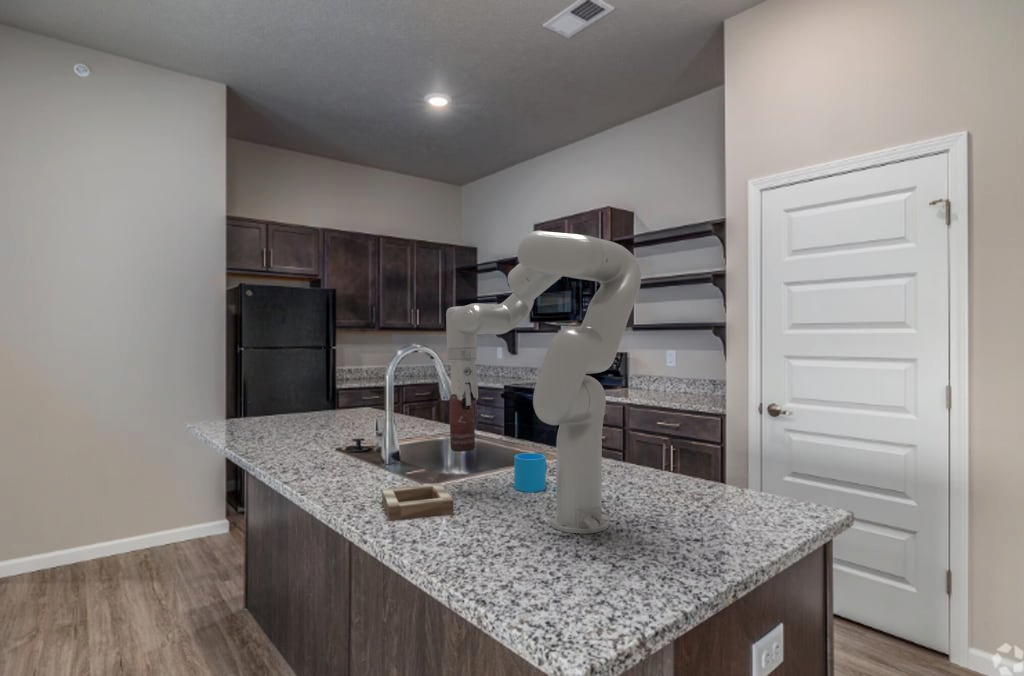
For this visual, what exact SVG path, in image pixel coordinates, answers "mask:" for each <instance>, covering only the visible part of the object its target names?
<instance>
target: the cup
mask: <svg viewBox="0 0 1024 676" xmlns="http://www.w3.org/2000/svg"><path fill="white" fill-rule="evenodd" d="M462 397H463V395H462ZM472 397H473V396H472V395H471V406H470V407H469V409H463V407H462V403H464V402H465V398H463V399H462V401H459V400H457V397H456V396H453V395H450V397H449V398H448V399H449V400H448V402H449V432H450V433H449V434H450V435H449V436H450V438H449V439H450V449H451V450H452V452H460V453H461V452H463V453H465V452H471V451H474V449H475V448H476V438H475V437H476V436H475V434H476V433H475V431H476V429H475V402H474V401H475V400H473V398H472ZM465 408H468V407H465Z"/></svg>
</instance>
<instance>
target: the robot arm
mask: <svg viewBox="0 0 1024 676" xmlns="http://www.w3.org/2000/svg"><path fill="white" fill-rule="evenodd" d="M516 252H517V255H516V256H517V260H518V262H519V263H518V264H517V265H516V266H514V267H513V268H512V269H511V270H510V271H509V272H508V275H507V283H508V285H509V288H510V290H511V292H512V294H510V295H509V296H508V297H507V298H506V299H505V300H504V301H502V302H501V303H499V304H497V303H478V302H477V303H475V302H474V303H470V304H467V305H462V306H461V305H459V306H451V307H449V308H447V310H446V313H445V317H446V319H445V320H446V322H445V323H446V325H445V326H446V355H447V357H446V358H447V362H450V393H451V395H453V396H456V397H457V400H459V401H462V399H463V398H465V402H464V403H462V407H463V409H469V407H470V406H471V395H472V396H473V397H472V398H473V400H474V401H478V399H479V386H478V374H477V365H476V364H477V363H476V362H477V361H478V348H477V346H478V344H477V342H478V341H477V335H503V334H507V333H508V332H510V331H511V330H513V329H515V328H516V327H517V326H519V324H520V323H522V322H523V321H525V319H527V317H528V316H529V314H530V312H531V311H532V310H533V309H532V308H533V306H534V303H535V300H536V298H538V297H539V296H540V295H542V294H543V293H544V292H545V291H547V290H548V289H549V288H550V287H551V286H552V285H554V284H555V283H557V282H558V280H560V279H561V278H562V277H567V278H571V279H578V280H584V281H585V280H586V281H591V282H599V284H600V287H599V288H598V290H597V291H596V292H595V294H593V297H592V298H591V300H590V302H589V304H588V306H587V309H586V310H587V311H586V313H585V316H584V318H583V321H582V323H581V325H580V326H570V327H565V328H563V329H561V330H560V331H559V332H557V334H555V335H554V336H553V337H552V340H551V341H550V342H549V345H548V346H547V350H546V353H545V356H544V359H543V362H542V365H541V368H540V371H539V375H538V377H537V381H536V383H535V386H534V391H533V396H532V397H533V398H532V405H533V406H532V407H533V410H534V412H535V414H536V416H537V418H538V419H539V420H540V421H541V422H543V423H545V424H547V425H550V426H559V427H558V430H557V435H556V512H554V513H552V514H551V515H550V516H549V518H548V519H549V521H548V522H549V525H550V527H552V528H554V529H556V530H558V531H560V532H563V533H567V532H568V534H574V533H576V534H577V533H579V534H577V535H588V534H590V533H591V534H597V533H600V532H603V531H606V530H607V529H608V528H609V527H610V519H609V517H608V516H607V515H605V514H603V513H602V512H603V507H602V505H603V504H602V503H603V499H602V498H603V497H602V496H603V494H602V493H603V491H602V490H603V488H602V487H603V485H602V482H603V481H602V479H603V478H602V477H603V475H602V473H603V472H602V471H603V470H602V468H603V466H602V464H603V461H602V457H603V456H602V453H603V450H602V449H603V448H602V446H603V445H602V444H603V440H602V439H603V427H604V425H603V424H604V418H605V412H606V404H607V401H606V400H607V399H606V397H607V395H606V392H605V390H604V389H605V388H604V387H603V385H602V384H601V382H599V380H597V379H596V378H594V377H592V376H591V374H598V373H602V372H605V371H607V370H608V369H610V367H612V365H613V363H614V361H615V359H616V356H617V353H618V350H619V348H620V345H621V342H622V339H623V336H624V333H625V330H626V327H627V324H628V321H629V319H630V315H631V314H632V310H633V308H634V305H635V303H636V300H637V297H638V294H639V293H640V292H639V291H640V290H641V289H640V288H641V284H642V273H641V267H640V265H639V263H638V261H637V259H636V257H635V256H634V255H633V253H632V252H631V251H629V250H628V249H627V248H626V247H624V246H623V245H621V244H619V243H617V242H614V241H610V240H606V239H602V238H598V237H594V236H590V235H586V234H578V233H570V232H569V233H567V232H557V231H556V232H554V231H548V230H547V231H546V230H534V231H530V232H529V233H528V234H526V235H525V236H524V237H523V238H522V239H521V240H520V243H519V244H518V247H517V251H516ZM588 374H589V375H588ZM451 395H450V396H451ZM462 395H463V397H462ZM465 407H468V408H465ZM576 534H575V535H576Z"/></svg>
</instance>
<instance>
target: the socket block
mask: <svg viewBox="0 0 1024 676" xmlns="http://www.w3.org/2000/svg"><path fill="white" fill-rule="evenodd" d="M381 494H382V495H381V497H382V498H381V499H382V500H381V502H382V506H383V508H384V511H385V514H386V517H387V519H388V521H391V522H393V521H402V520H411V519H422V518H430V517H441V516H450V515H452V516H453V515H454V498H453V497H452V496H451V495H450V494H449V493H448V491H447V490H446V489H445V488H444V486H443V485H442V484H441V483H433V484H424V485H413V486H402V487H391V488H382V489H381Z"/></svg>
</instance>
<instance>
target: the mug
mask: <svg viewBox="0 0 1024 676" xmlns="http://www.w3.org/2000/svg"><path fill="white" fill-rule="evenodd" d="M546 457H547V456H546V455H545V454H541V453H536V452H523V453H518V454H517V453H516V454H515V455H514V457H513V458H514V459H513V461H514V469H513V470H514V472H513V473H514V477H513V478H514V479H513V481H514V486H513V487H514V489H515V490H517V491H518V492H519V491H520V492H525V493H526V492H527V493H528V492H529V493H535V492H541V491H545V489H546V484H547V483H546V482H547V481H546V475H547V469H548V465H547V463H548V462H547V461H546Z"/></svg>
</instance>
